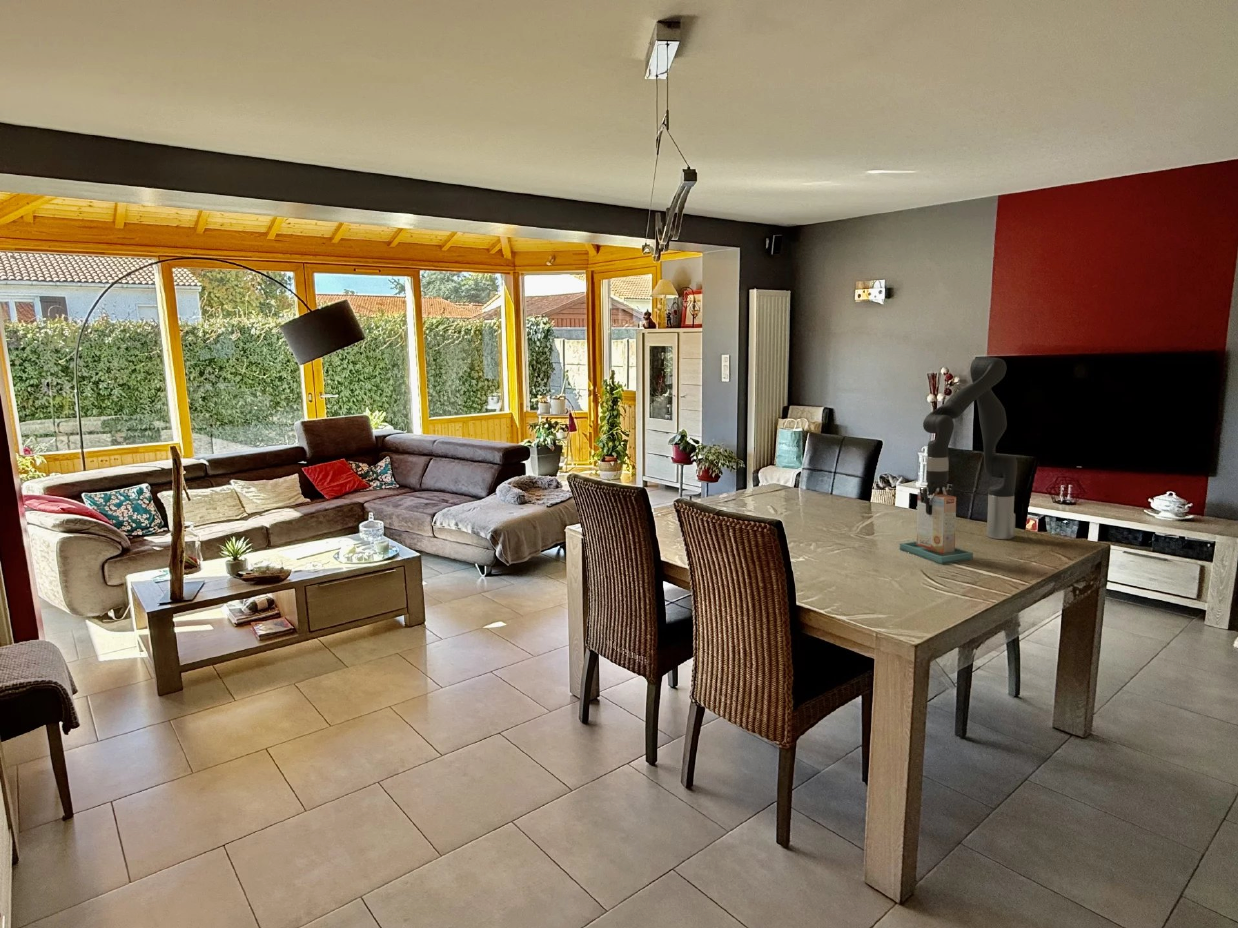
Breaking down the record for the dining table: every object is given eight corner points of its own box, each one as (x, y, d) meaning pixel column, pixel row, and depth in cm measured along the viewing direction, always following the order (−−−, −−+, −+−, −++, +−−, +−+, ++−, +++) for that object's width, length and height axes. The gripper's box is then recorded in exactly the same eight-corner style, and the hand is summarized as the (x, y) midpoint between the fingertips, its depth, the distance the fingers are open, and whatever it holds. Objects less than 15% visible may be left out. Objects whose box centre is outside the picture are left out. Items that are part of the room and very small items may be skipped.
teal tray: (929, 545, 287) (929, 539, 287) (972, 559, 266) (972, 552, 266) (899, 549, 283) (899, 543, 282) (941, 564, 262) (941, 557, 262)
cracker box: (955, 552, 269) (957, 496, 265) (942, 554, 267) (943, 498, 264) (928, 543, 282) (929, 490, 279) (915, 545, 280) (916, 491, 277)
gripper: (945, 465, 276) (944, 509, 278) (914, 469, 271) (913, 513, 274) (960, 468, 268) (959, 513, 271) (928, 471, 264) (927, 517, 267)
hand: (936, 513), depth 272 cm, fingers closed on cracker box, 6 cm apart
